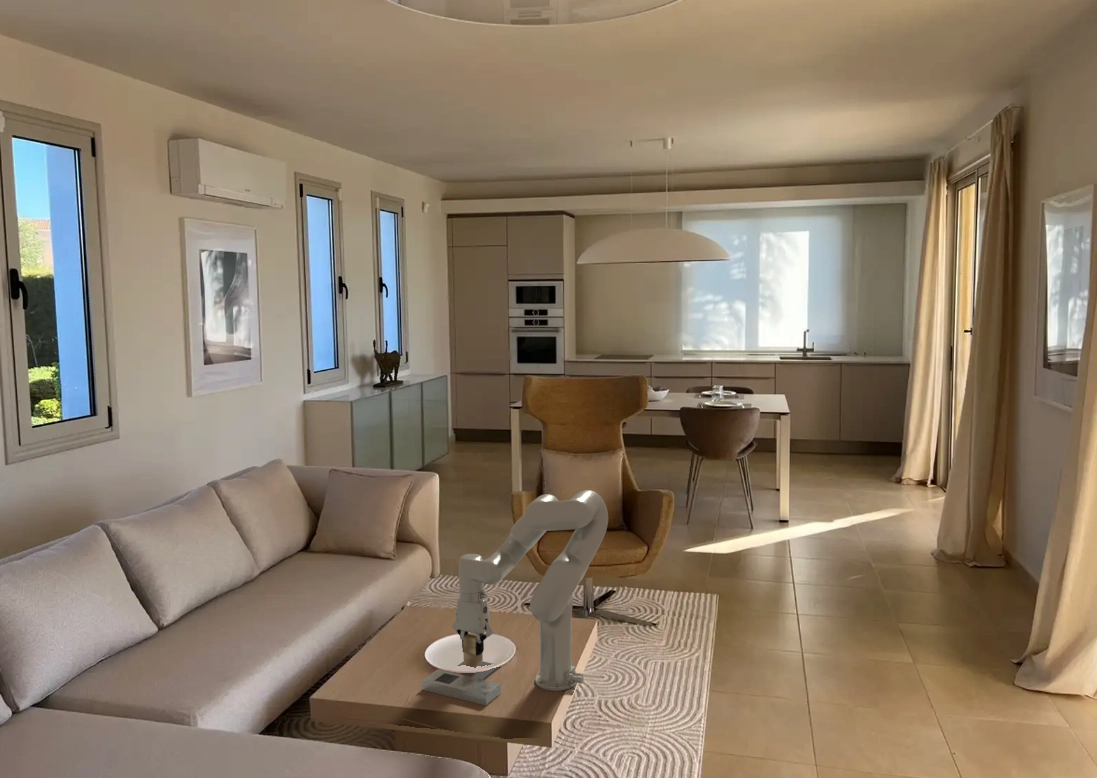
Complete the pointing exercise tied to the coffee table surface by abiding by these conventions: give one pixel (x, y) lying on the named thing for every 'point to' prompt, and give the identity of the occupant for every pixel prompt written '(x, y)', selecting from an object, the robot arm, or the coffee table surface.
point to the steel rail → (461, 687)
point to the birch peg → (471, 651)
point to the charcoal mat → (479, 674)
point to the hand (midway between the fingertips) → (472, 651)
